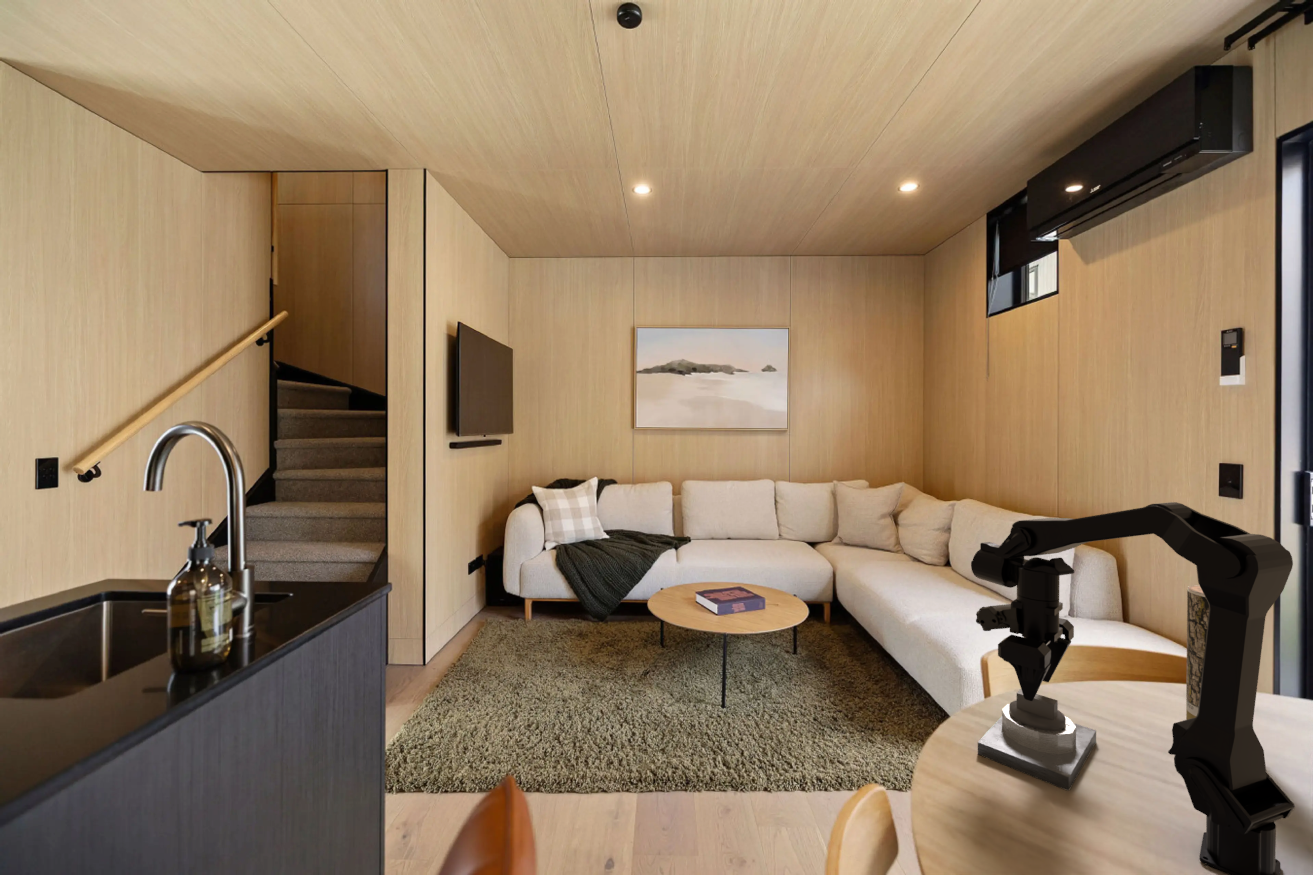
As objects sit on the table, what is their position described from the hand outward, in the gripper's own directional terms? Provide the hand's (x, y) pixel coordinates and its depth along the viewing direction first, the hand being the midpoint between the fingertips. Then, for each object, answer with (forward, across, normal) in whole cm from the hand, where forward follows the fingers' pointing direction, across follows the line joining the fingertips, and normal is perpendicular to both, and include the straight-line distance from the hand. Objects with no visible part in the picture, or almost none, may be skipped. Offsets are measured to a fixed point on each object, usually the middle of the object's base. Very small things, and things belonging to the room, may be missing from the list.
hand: (1037, 690), depth 90 cm
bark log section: (+10, -24, +19) cm, 32 cm away
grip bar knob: (+7, 0, 0) cm, 7 cm away
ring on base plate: (+10, 0, 0) cm, 10 cm away
